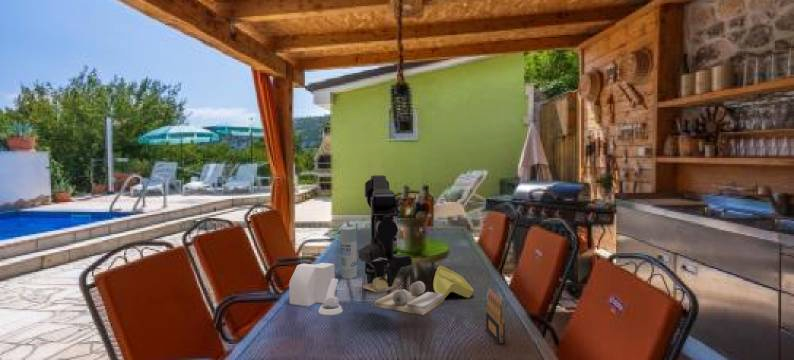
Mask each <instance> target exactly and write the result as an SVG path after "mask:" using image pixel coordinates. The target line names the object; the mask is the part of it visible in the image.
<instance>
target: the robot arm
mask: <svg viewBox="0 0 794 360" xmlns="http://www.w3.org/2000/svg"><path fill="white" fill-rule="evenodd" d="M364 197H365V198H366V202H367V204H368V206H369V208H370V243H369V244H367V245H365V246H363V247H362V248H361V249H359V250H357V253H358V259H360V261H361V262H364V266H363V267H364V274H365V275H366V284H371V283H373V280H374V278H377V277H382V276H386V275H387V282H388V287H392V285H393V283H394V280H395V278H396V279H397V276H398V274H399V272H400V271H401V268H404V267H408V266H412V265H413V258H412V257H411V255H408V254H404V253H400V254H398V251H397V250H395V241H397V240H398V239H397V238H398V237H396V236H397V234H398V231H399V229H398V225H397V224H396V222H395V221H394V217H398V216H399V214H400V212H401V209H400V203H399V199H398V196H397V195H395V192H394V191H393V190H392V189H390V181H388V180H387V177H386V175H384V174H381V175H379V174H378V175H377V174H376V175H371V176H370V179H369V180H367V181H366V182H365V184H364ZM364 290H366V291H371V290H368V289H365V288H364ZM371 292H372V291H371Z"/></svg>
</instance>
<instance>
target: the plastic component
mask: <svg viewBox="0 0 794 360" xmlns="http://www.w3.org/2000/svg"><path fill="white" fill-rule="evenodd" d="M432 282H433V284H432V285H433V291H434V293H440V294H444V299H446V298H447V296H449V294H450V293H454V294H457V295H459V296H462V297H464V298H466V299H470V298H471V296H473V295H472V294H473V292H474V291H475V289H473V287H472V286H471V285H470V284H469V283H468V282H467V280H466V279H465V278H464V277H463V276H462V275H460V274H459V273H457V272H455V271H453V270H452V269H449V268H447V267H445V266H443V265H439V266H437V268H436V271H435V274H434V277H433V281H432Z"/></svg>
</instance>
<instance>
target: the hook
mask: <svg viewBox="0 0 794 360" xmlns="http://www.w3.org/2000/svg"><path fill="white" fill-rule="evenodd" d="M338 282H339V279H338V278H332V279H331V282H330V285H329V289H328V292H327V295H326V299H325V304H324V303H323V304H322V305H320V307H319V308H318V312H317V313H318V314H320V315H324V316H336V315H339V314H342V312H343V307H342V306H341V304H339V298H338V297H336V296H335V297H334V294H335V295H336V289H337V286H338Z"/></svg>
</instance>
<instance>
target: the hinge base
mask: <svg viewBox="0 0 794 360" xmlns="http://www.w3.org/2000/svg"><path fill="white" fill-rule="evenodd" d="M408 289H409V291H408V290H406V289H404V288H403V289H396V290H395V291H393V292H391V293H388V294H386V295H385V296H383V297H381V298H379V299H377V300H375V301H374V302H373V307H375V308H380V309H386V310H393V311H397V312H398V311H399V312H404V313H410V314H417V315H422V316H424V315H426V314H427V313H429V312H430V311H432V310H433V309H435V308H436V307H437V306H439V305H441V304H442V303H443V302H445V298H444V294H440V293H436V292H433V291H427V292H425V291H426V285H425V283H424V282H423V281H421V280H417V281H415V282H412V283H411V284H410V285H409V288H408Z"/></svg>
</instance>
